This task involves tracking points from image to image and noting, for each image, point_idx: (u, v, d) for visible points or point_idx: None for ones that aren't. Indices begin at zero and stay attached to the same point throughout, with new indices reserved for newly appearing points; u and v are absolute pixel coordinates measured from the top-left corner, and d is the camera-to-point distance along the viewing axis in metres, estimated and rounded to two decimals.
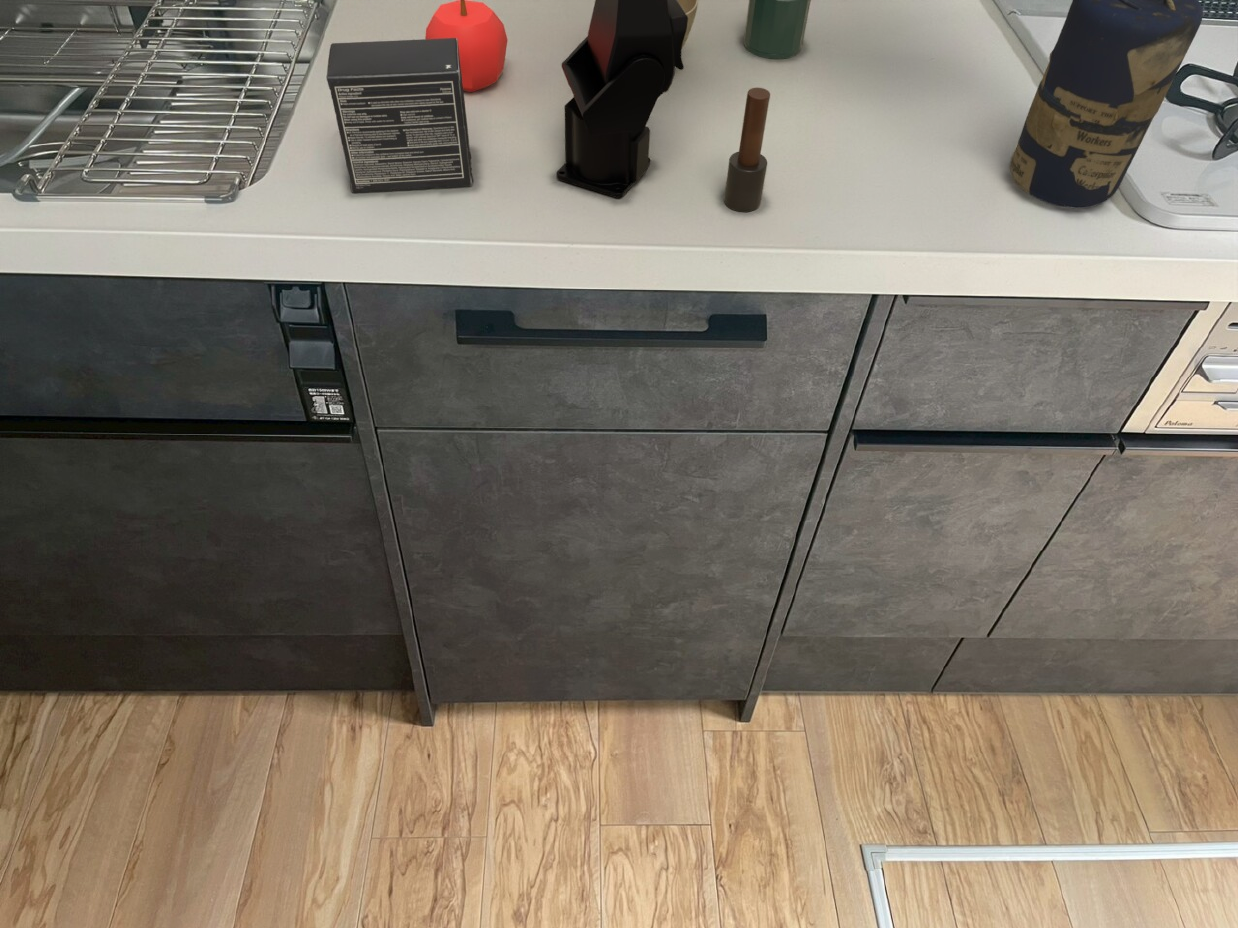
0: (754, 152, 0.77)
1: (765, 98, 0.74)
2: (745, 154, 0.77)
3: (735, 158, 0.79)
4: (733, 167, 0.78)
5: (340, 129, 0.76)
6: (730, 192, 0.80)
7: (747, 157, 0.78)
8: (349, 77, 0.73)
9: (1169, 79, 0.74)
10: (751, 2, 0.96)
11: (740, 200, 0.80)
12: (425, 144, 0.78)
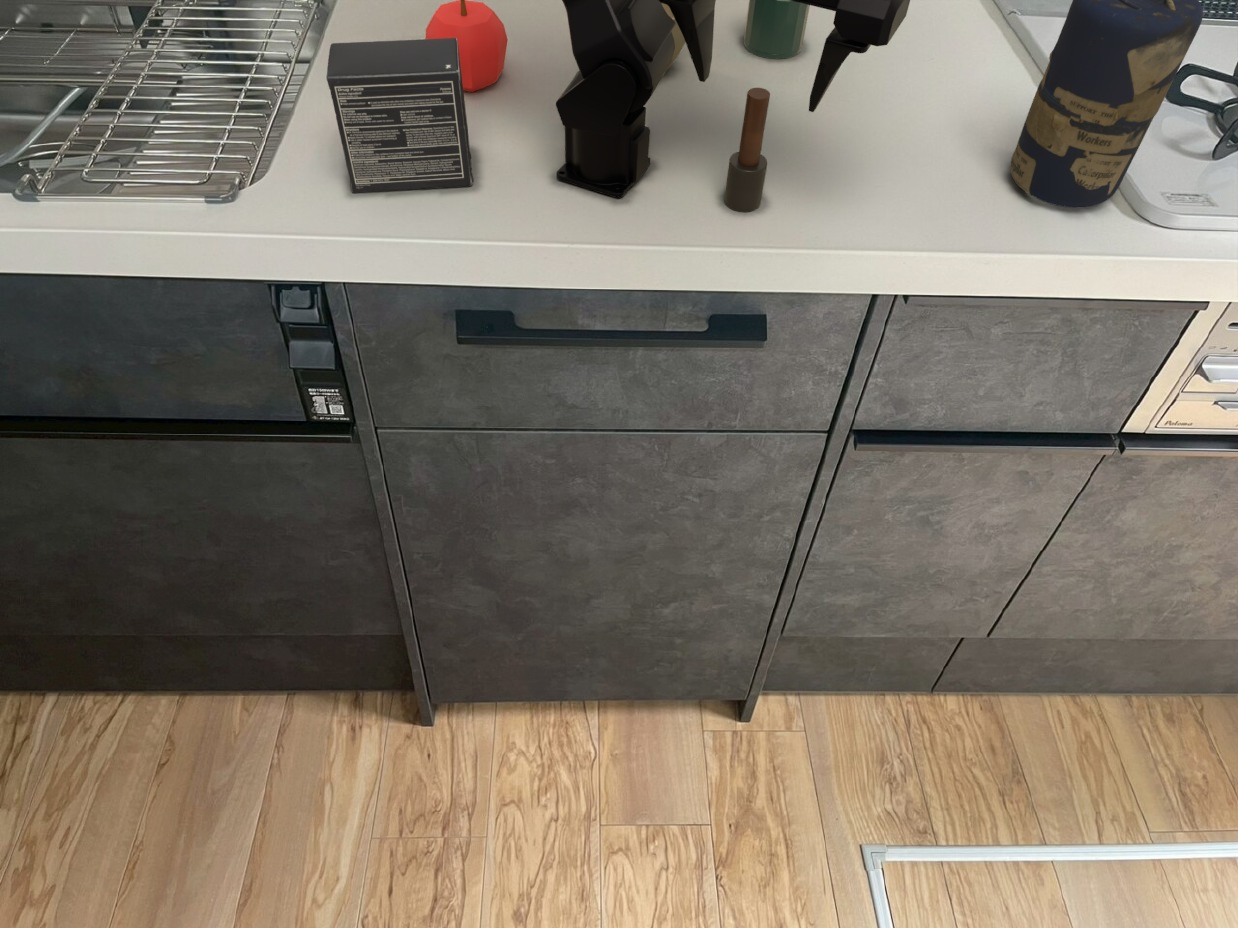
0: (754, 152, 0.77)
1: (765, 98, 0.74)
2: (745, 154, 0.77)
3: (735, 158, 0.79)
4: (733, 167, 0.78)
5: (340, 129, 0.76)
6: (730, 192, 0.80)
7: (747, 157, 0.78)
8: (349, 77, 0.73)
9: (1169, 79, 0.74)
10: (751, 2, 0.96)
11: (740, 200, 0.80)
12: (425, 144, 0.78)
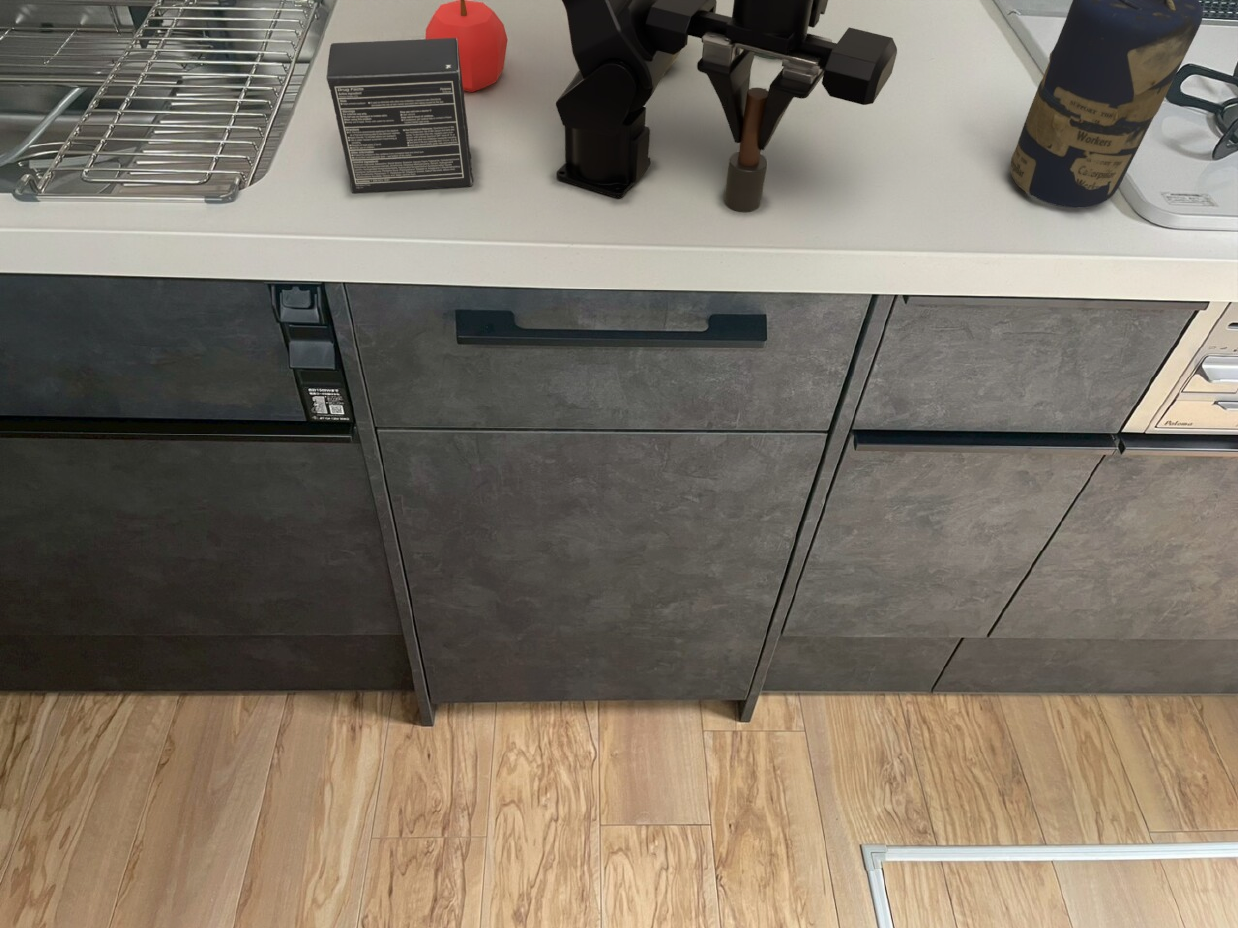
0: (754, 152, 0.77)
1: (764, 98, 0.74)
2: (744, 154, 0.77)
3: (735, 158, 0.79)
4: (733, 167, 0.78)
5: (340, 129, 0.76)
6: (730, 192, 0.80)
7: (747, 157, 0.78)
8: (349, 77, 0.73)
9: (1169, 79, 0.74)
10: None
11: (740, 200, 0.80)
12: (425, 144, 0.78)
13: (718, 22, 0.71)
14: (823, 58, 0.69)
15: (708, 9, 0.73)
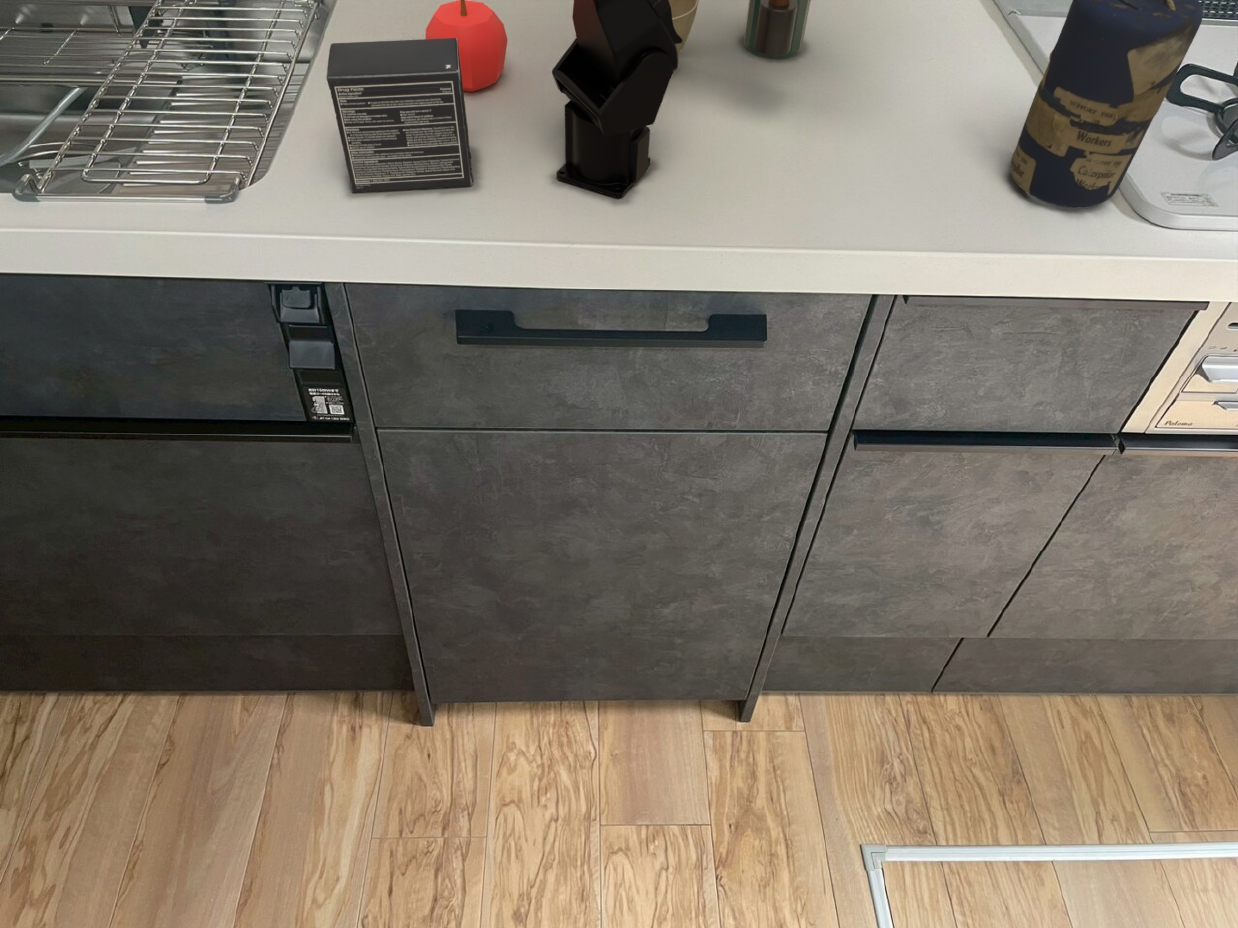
0: None
1: None
2: None
3: (766, 0, 0.81)
4: (764, 8, 0.80)
5: (340, 129, 0.76)
6: (760, 35, 0.82)
7: None
8: (349, 77, 0.73)
9: (1169, 79, 0.74)
10: (751, 2, 0.96)
11: (770, 43, 0.82)
12: (425, 144, 0.78)
13: None
14: None
15: None
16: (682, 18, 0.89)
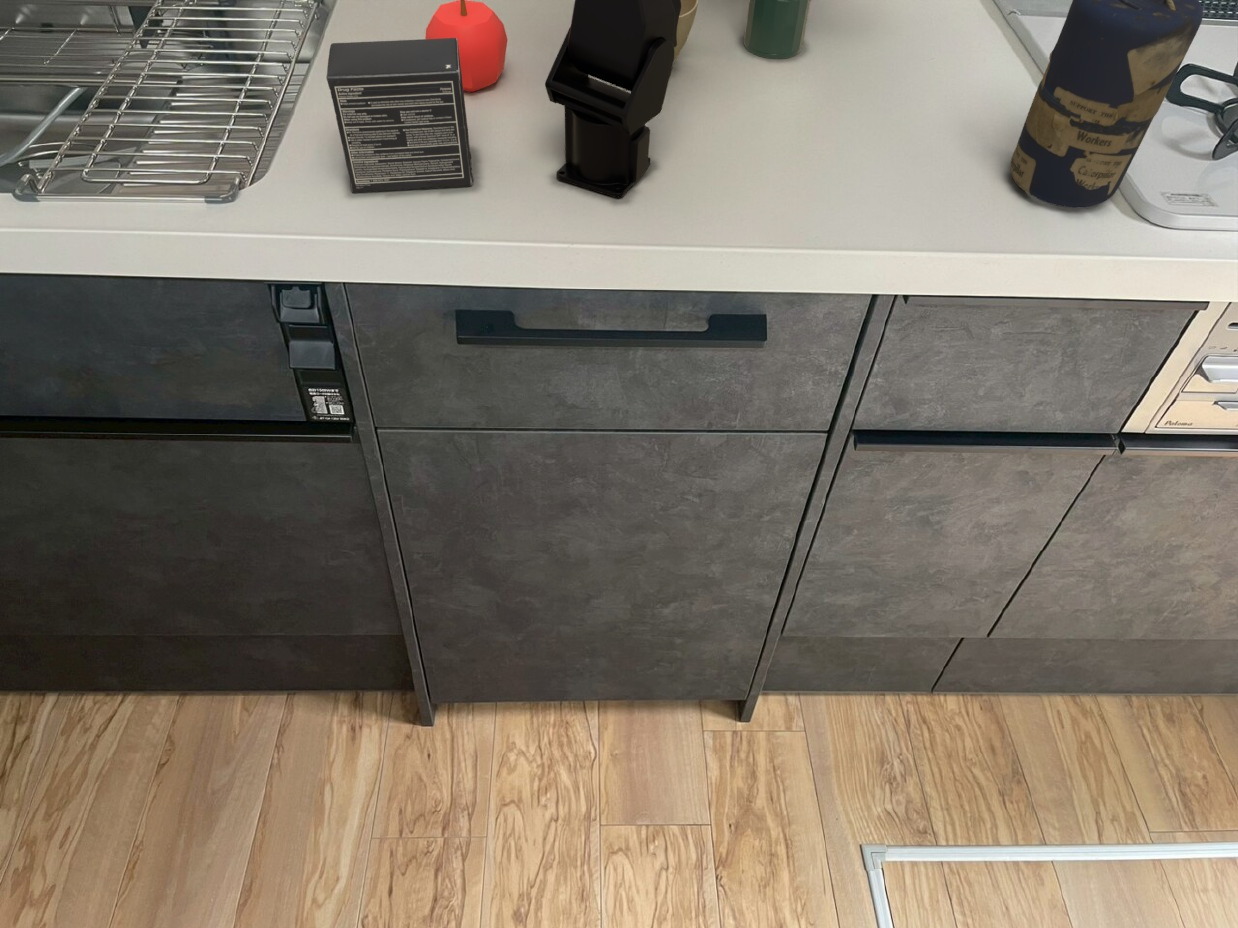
0: None
1: None
2: None
3: None
4: None
5: (340, 129, 0.76)
6: None
7: None
8: (349, 77, 0.73)
9: (1169, 79, 0.74)
10: (751, 2, 0.96)
11: None
12: (425, 144, 0.78)
13: None
14: None
15: None
16: (682, 18, 0.89)
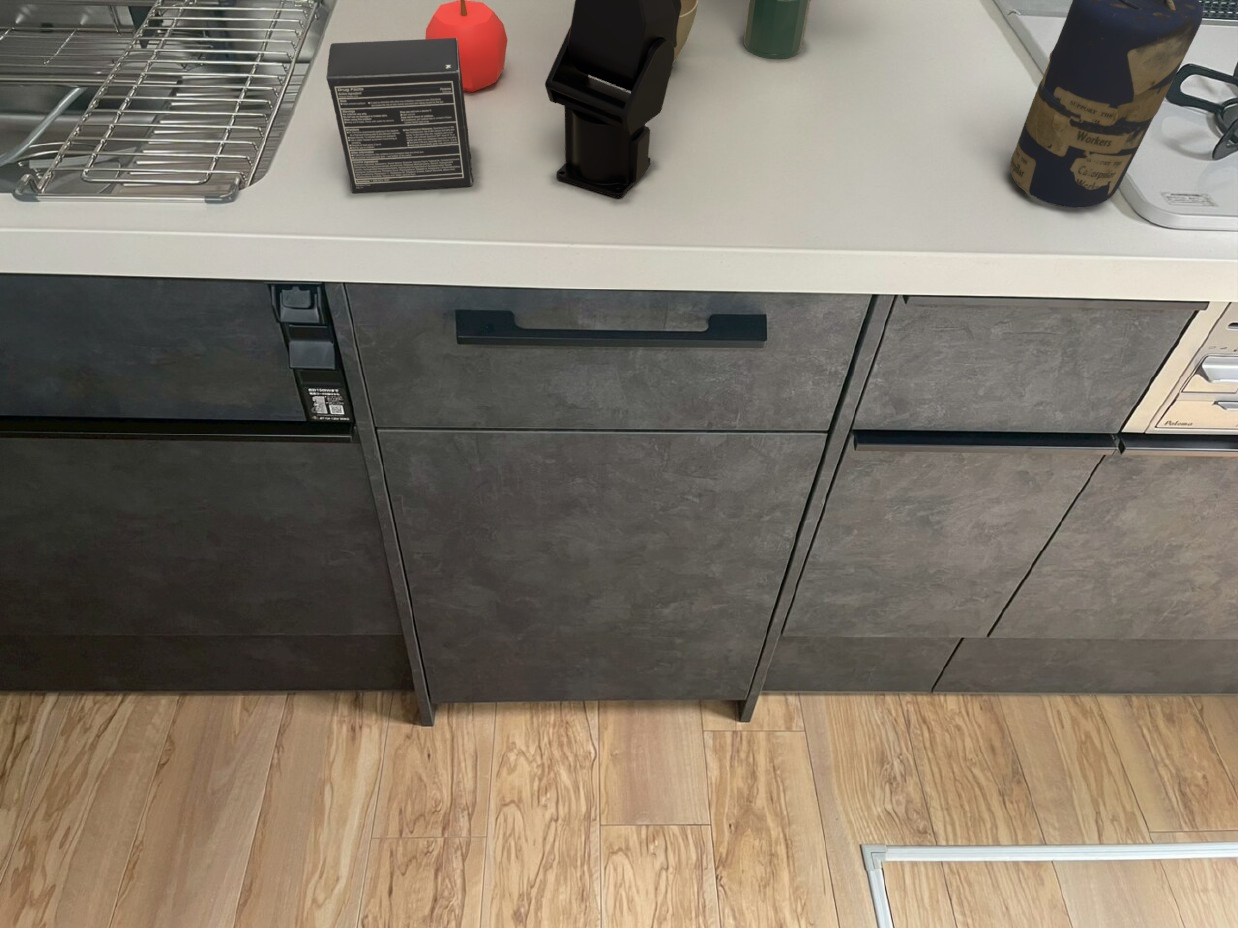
0: None
1: None
2: None
3: None
4: None
5: (340, 129, 0.76)
6: None
7: None
8: (349, 77, 0.73)
9: (1169, 79, 0.74)
10: (751, 2, 0.96)
11: None
12: (425, 144, 0.78)
13: None
14: None
15: None
16: (682, 18, 0.89)
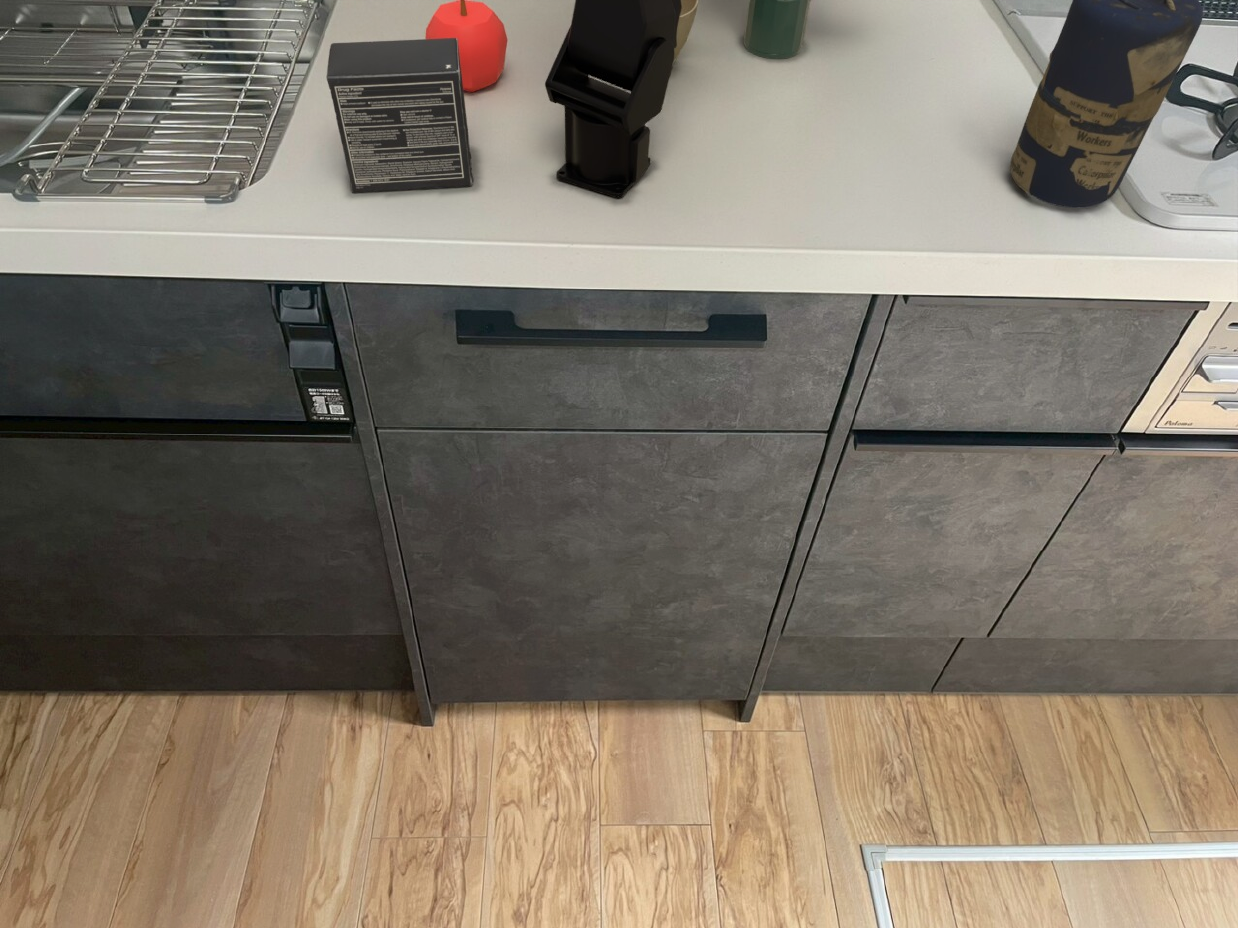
0: None
1: None
2: None
3: None
4: None
5: (340, 129, 0.76)
6: None
7: None
8: (349, 77, 0.73)
9: (1169, 79, 0.74)
10: (751, 2, 0.96)
11: None
12: (425, 144, 0.78)
13: None
14: None
15: None
16: (682, 18, 0.89)
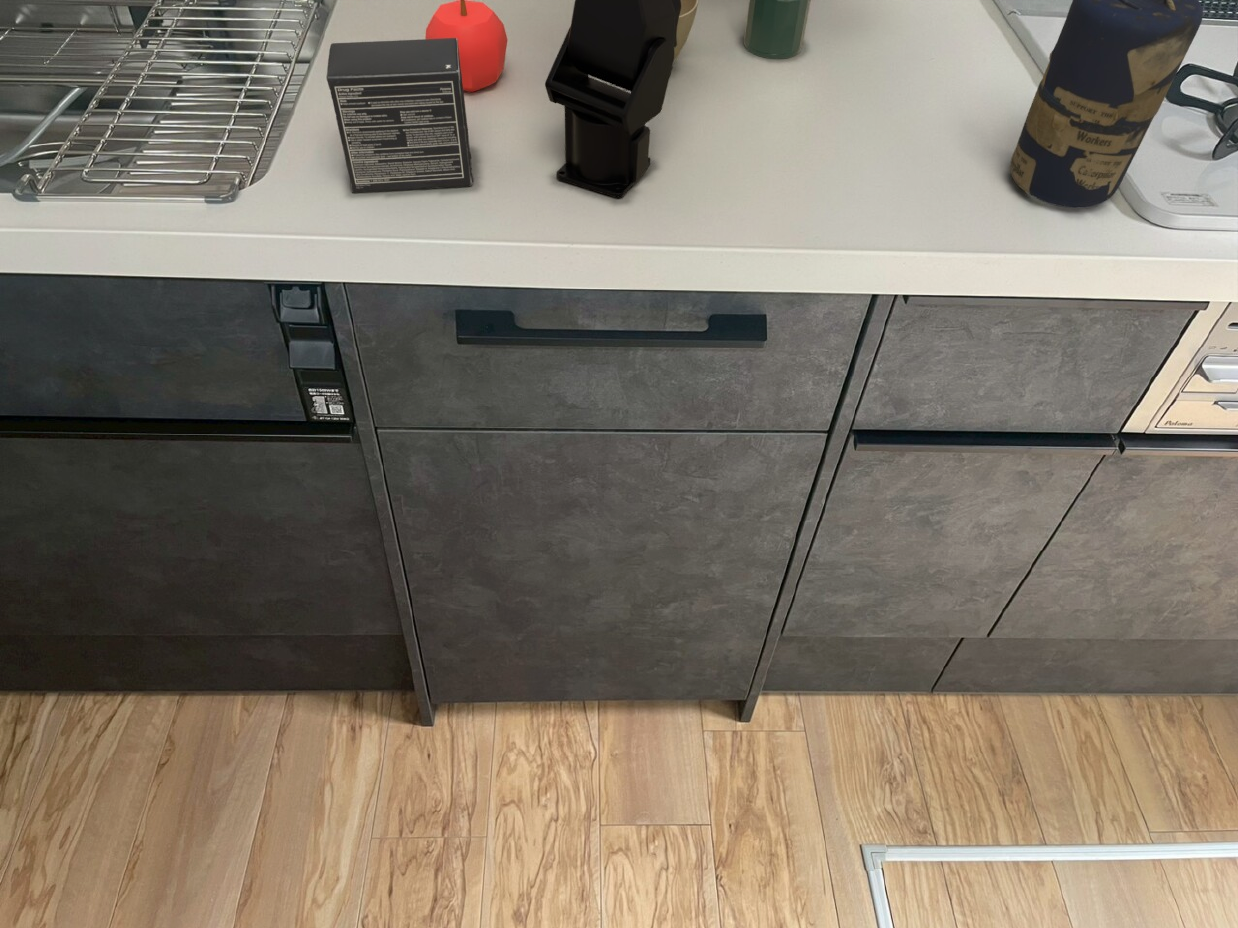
0: None
1: None
2: None
3: None
4: None
5: (340, 129, 0.76)
6: None
7: None
8: (349, 77, 0.73)
9: (1169, 79, 0.74)
10: (751, 2, 0.96)
11: None
12: (425, 144, 0.78)
13: None
14: None
15: None
16: (682, 18, 0.89)
